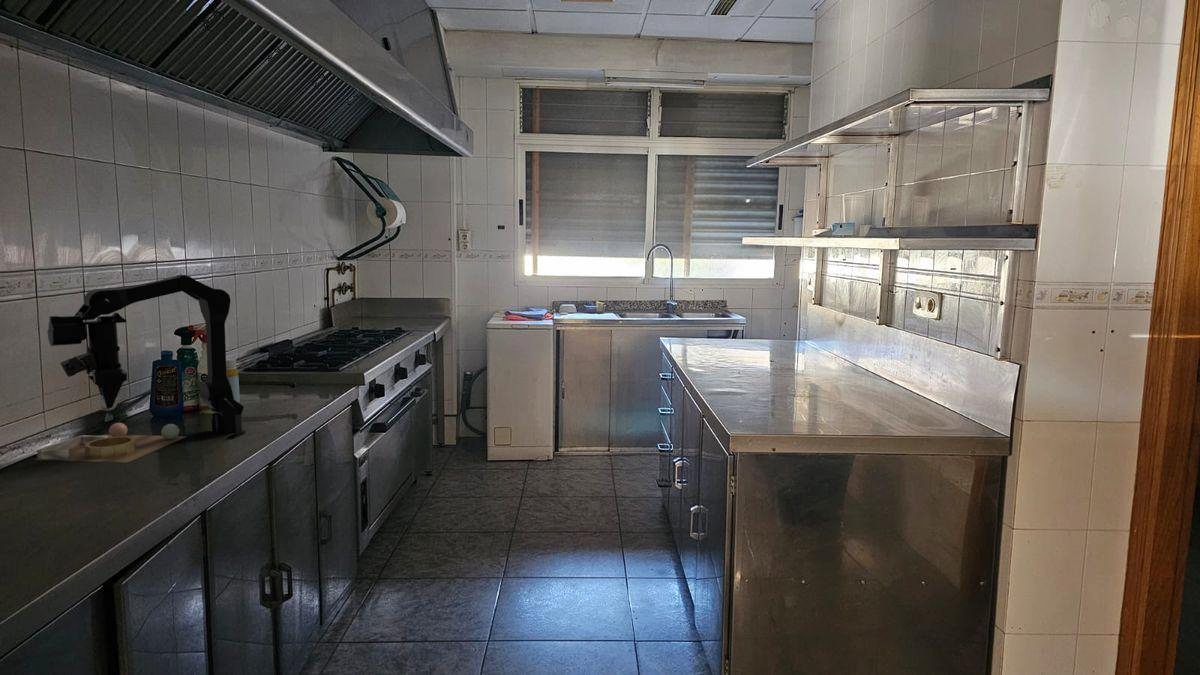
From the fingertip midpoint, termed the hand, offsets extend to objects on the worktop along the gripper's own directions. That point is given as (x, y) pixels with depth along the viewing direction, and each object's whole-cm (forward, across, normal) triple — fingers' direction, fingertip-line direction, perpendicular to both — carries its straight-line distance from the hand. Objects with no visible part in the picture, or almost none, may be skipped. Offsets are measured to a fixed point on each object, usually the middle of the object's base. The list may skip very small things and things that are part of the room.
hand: (108, 406), depth 176 cm
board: (+12, -4, +1) cm, 13 cm away
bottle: (+12, -41, +36) cm, 56 cm away
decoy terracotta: (+9, -13, +3) cm, 16 cm away
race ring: (+11, 0, 0) cm, 11 cm away
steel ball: (-1, 0, 0) cm, 1 cm away
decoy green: (+9, -3, +13) cm, 16 cm away
